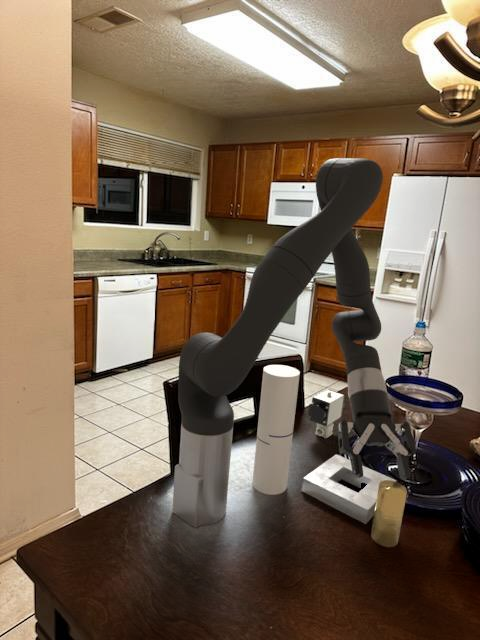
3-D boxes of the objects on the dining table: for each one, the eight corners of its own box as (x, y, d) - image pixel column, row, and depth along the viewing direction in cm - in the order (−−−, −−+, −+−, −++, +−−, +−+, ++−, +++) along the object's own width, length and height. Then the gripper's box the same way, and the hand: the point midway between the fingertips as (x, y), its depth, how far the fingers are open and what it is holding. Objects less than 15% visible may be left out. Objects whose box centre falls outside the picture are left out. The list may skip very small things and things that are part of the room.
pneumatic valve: (341, 430, 119) (347, 389, 116) (320, 445, 110) (326, 400, 107) (323, 424, 122) (328, 383, 120) (301, 437, 113) (307, 394, 111)
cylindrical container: (284, 497, 88) (298, 379, 82) (249, 490, 89) (260, 373, 84) (288, 478, 94) (301, 367, 89) (255, 472, 96) (266, 362, 90)
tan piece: (391, 551, 75) (401, 499, 73) (366, 537, 78) (374, 487, 76) (401, 538, 79) (410, 488, 77) (377, 525, 82) (385, 477, 79)
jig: (365, 524, 82) (367, 509, 81) (301, 491, 90) (303, 477, 90) (394, 493, 92) (396, 480, 92) (334, 466, 101) (336, 454, 100)
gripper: (339, 386, 86) (351, 472, 77) (409, 389, 87) (428, 473, 78) (328, 400, 92) (338, 481, 83) (394, 403, 93) (410, 483, 85)
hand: (382, 477), depth 81 cm, fingers open, 8 cm apart
